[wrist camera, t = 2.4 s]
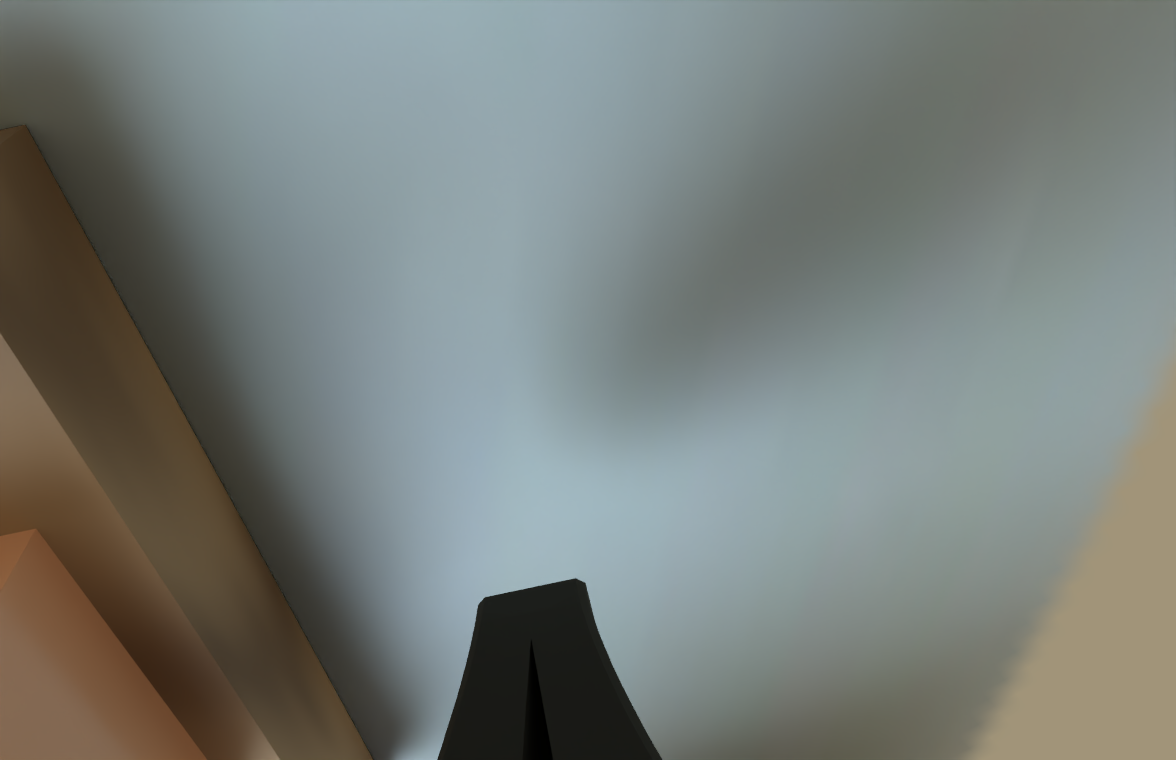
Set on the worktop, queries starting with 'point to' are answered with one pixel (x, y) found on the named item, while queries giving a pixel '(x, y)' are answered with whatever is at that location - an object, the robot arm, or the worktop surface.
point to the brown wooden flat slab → (140, 496)
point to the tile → (71, 672)
